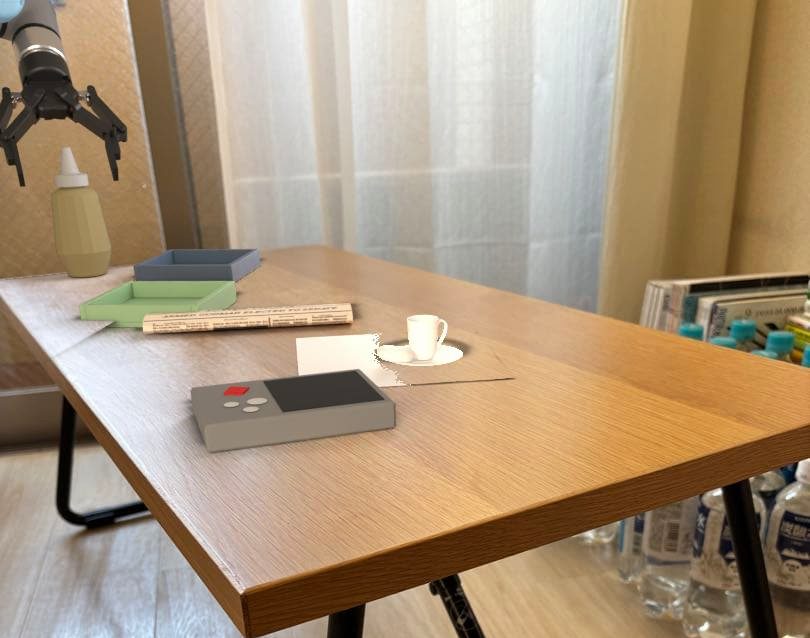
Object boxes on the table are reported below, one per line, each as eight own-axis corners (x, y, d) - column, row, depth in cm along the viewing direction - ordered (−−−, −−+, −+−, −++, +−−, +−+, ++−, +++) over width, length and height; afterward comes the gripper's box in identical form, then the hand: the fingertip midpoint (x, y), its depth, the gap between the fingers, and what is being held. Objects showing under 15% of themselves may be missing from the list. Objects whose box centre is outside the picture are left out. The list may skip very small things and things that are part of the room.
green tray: (82, 327, 106) (78, 304, 105) (131, 300, 119) (127, 281, 118) (200, 327, 104) (197, 305, 103) (237, 301, 117) (234, 281, 116)
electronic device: (189, 384, 75) (360, 365, 79) (193, 412, 76) (361, 392, 80) (204, 423, 66) (396, 399, 70) (208, 454, 68) (397, 429, 71)
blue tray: (136, 284, 130) (133, 265, 128) (171, 266, 143) (169, 249, 141) (233, 284, 128) (231, 265, 127) (260, 265, 141) (259, 248, 140)
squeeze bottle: (123, 269, 141) (103, 145, 132) (103, 279, 133) (80, 148, 125) (74, 270, 141) (51, 146, 133) (51, 279, 134) (25, 149, 126)
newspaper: (144, 337, 100) (141, 321, 100) (151, 322, 107) (149, 307, 106) (353, 325, 103) (352, 310, 102) (348, 312, 109) (347, 297, 108)
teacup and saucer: (380, 373, 86) (378, 330, 84) (372, 351, 93) (370, 312, 91) (470, 367, 87) (470, 325, 85) (455, 347, 94) (455, 307, 92)
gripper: (125, 85, 148) (153, 189, 143) (-39, 89, 140) (-16, 200, 134) (124, 47, 141) (153, 154, 136) (-48, 49, 133) (-25, 164, 127)
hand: (69, 177), depth 135 cm, fingers open, 13 cm apart
